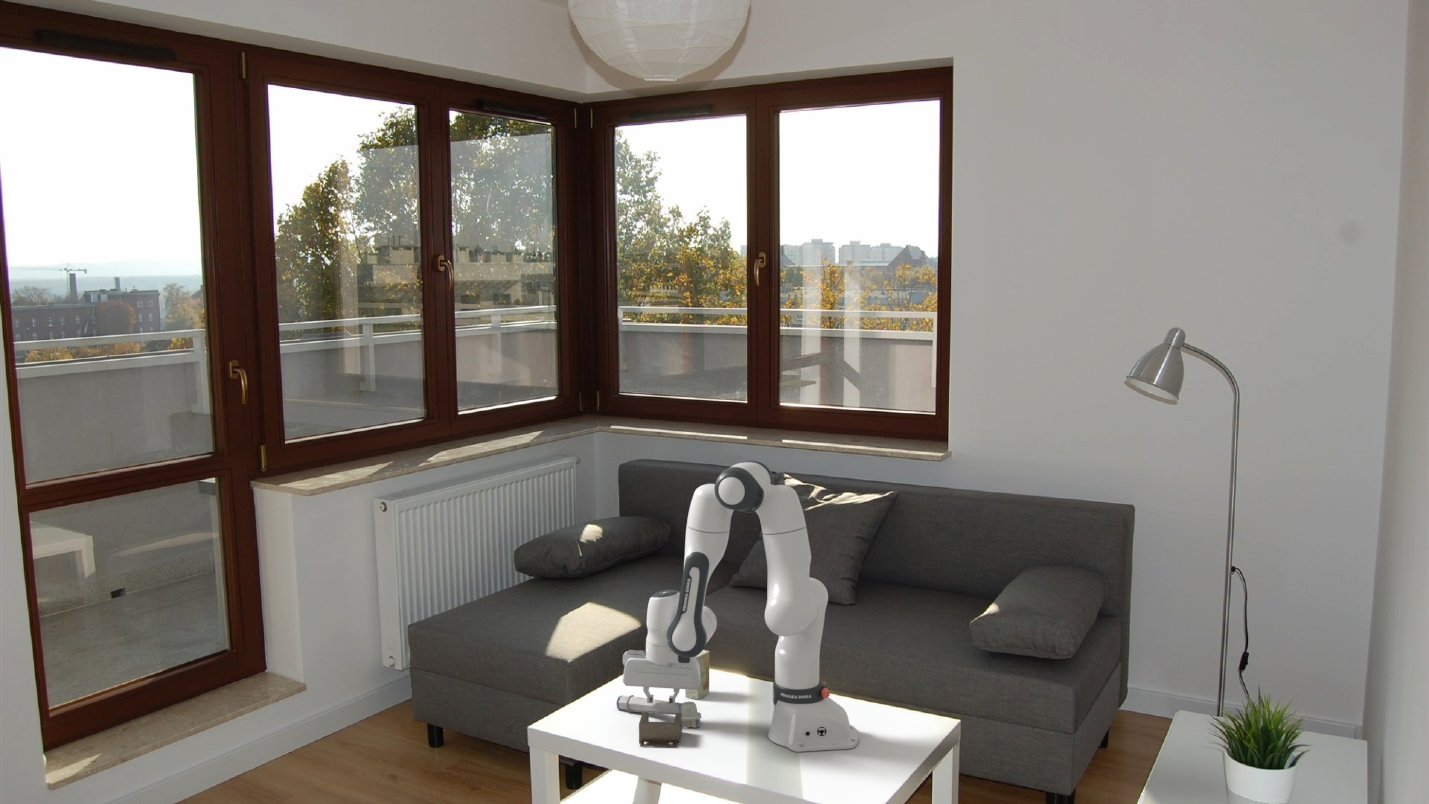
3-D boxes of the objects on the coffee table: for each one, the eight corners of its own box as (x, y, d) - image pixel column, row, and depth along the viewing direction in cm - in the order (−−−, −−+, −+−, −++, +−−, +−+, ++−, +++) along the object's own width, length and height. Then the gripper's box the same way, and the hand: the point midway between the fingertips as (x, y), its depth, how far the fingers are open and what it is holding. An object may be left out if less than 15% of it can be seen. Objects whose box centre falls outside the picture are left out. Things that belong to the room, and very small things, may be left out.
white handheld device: (625, 692, 291) (703, 697, 278) (628, 716, 291) (706, 722, 278) (614, 698, 286) (692, 703, 273) (617, 722, 286) (695, 729, 273)
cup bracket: (682, 732, 272) (681, 713, 272) (678, 747, 263) (678, 727, 263) (642, 731, 273) (642, 712, 273) (638, 746, 264) (637, 727, 263)
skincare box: (697, 700, 294) (697, 657, 293) (684, 697, 296) (684, 654, 295) (710, 693, 300) (710, 650, 298) (697, 690, 302) (697, 647, 301)
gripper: (621, 653, 276) (619, 705, 278) (700, 658, 275) (698, 710, 277) (624, 645, 283) (623, 696, 284) (702, 649, 282) (700, 700, 283)
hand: (661, 703), depth 280 cm, fingers open, 4 cm apart
